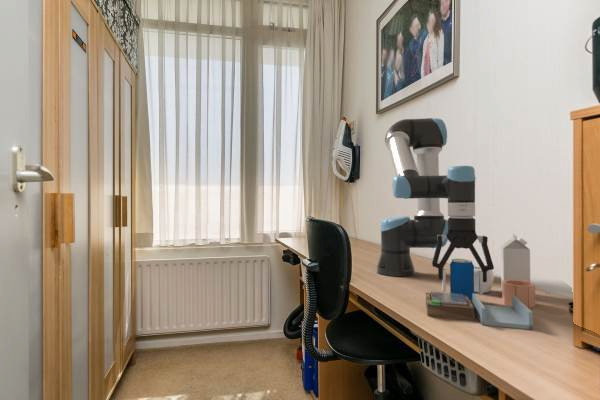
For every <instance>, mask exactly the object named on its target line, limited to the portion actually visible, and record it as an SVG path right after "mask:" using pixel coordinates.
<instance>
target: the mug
mask: <svg viewBox="0 0 600 400" xmlns="http://www.w3.org/2000/svg"><path fill="white" fill-rule="evenodd" d="M478 270H481V268H480V266H479V265H474V293H477V294H480V293H479V292H478ZM493 284H494V271H493V270H488V271H487V281H486V282H483V294H488V293H489V292H491V290H492V289H493V286H494V285H493Z"/></svg>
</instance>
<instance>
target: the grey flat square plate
mask: <svg viewBox="0 0 600 400" xmlns="http://www.w3.org/2000/svg"><path fill="white" fill-rule="evenodd" d="M430 293H431V299H432V300H439V301H440V304H449V305H462V306H467V301H466V299H465V297H464V295H463V294H455V293H450V292H443V291H442V292H440V291H430Z"/></svg>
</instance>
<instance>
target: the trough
mask: <svg viewBox="0 0 600 400" xmlns="http://www.w3.org/2000/svg"><path fill="white" fill-rule="evenodd" d="M471 304H472V305H473V307H474V314H475V316H476V317H477V318H478V321H479V322H480V324H481V326H491V327H502V328H510V329H511V328H512V329H520V330H521V329H522V330H532V331H533V330H534V313H533V311H532V310H531V309H530V308H527V307H526V306H525V305H524V304H523V303H522V302H521V301H520V300H519V299H518V298H517V297H516V296H512V306H501V305H489V304H483V303H482V301H481V300H480V299H479V297H478V295H477V294H476V292H474V293H472V301H471Z"/></svg>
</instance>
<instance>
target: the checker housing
mask: <svg viewBox="0 0 600 400" xmlns="http://www.w3.org/2000/svg"><path fill="white" fill-rule="evenodd" d="M464 297H465V299H466V301H467V306H462V305H449V304H440V301H439V300H432V299H431V292H425V307H426V315H427V317H437V318H447V319H456V318H457V319H460V320H469V321H474V320H475V312H474V307H473V305H472V301H471V302H470V300H469V298H468V297H467V296H466V295H464ZM457 319H456V320H457Z"/></svg>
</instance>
